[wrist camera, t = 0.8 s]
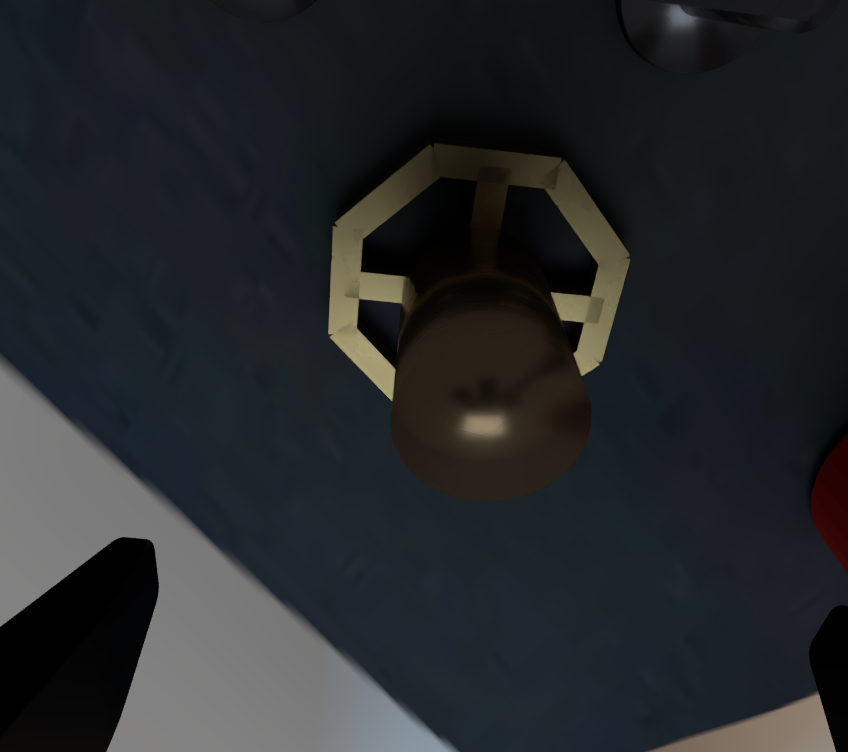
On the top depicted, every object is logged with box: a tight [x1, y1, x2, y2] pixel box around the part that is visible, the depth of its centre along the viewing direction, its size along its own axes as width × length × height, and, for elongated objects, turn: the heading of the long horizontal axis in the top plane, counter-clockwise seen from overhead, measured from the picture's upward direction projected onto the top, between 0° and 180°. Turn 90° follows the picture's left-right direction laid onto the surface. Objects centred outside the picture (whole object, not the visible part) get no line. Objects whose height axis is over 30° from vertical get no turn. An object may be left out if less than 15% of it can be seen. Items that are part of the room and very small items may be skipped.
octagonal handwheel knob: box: [328, 137, 630, 501], centre depth 17 cm, size 8×8×7 cm
